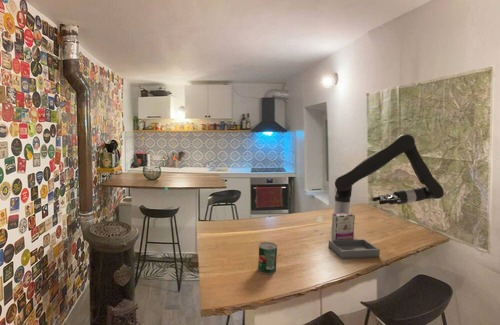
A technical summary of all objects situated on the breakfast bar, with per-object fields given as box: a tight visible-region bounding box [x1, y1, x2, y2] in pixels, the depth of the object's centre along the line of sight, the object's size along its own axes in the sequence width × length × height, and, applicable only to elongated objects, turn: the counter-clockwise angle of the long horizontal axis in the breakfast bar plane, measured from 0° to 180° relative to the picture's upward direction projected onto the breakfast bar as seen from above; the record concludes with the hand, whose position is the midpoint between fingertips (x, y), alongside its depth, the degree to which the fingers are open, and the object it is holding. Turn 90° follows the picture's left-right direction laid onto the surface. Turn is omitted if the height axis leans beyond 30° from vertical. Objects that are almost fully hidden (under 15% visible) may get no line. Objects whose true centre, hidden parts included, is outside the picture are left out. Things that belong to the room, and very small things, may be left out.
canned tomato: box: [257, 241, 278, 275], centre depth 129 cm, size 8×8×11 cm
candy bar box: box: [330, 212, 356, 240], centre depth 162 cm, size 11×5×16 cm, turn 105°
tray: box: [328, 238, 381, 260], centre depth 151 cm, size 14×20×4 cm
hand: (375, 200), depth 164 cm, fingers open, 8 cm apart
